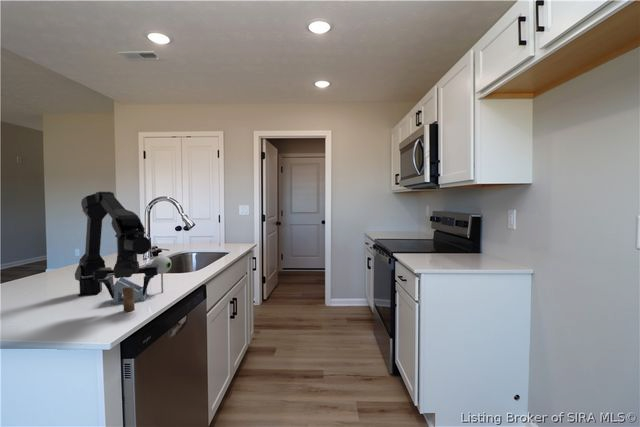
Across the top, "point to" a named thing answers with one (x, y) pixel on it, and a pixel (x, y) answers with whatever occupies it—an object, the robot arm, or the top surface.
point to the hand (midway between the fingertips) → (128, 296)
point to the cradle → (125, 283)
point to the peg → (128, 299)
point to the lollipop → (162, 266)
